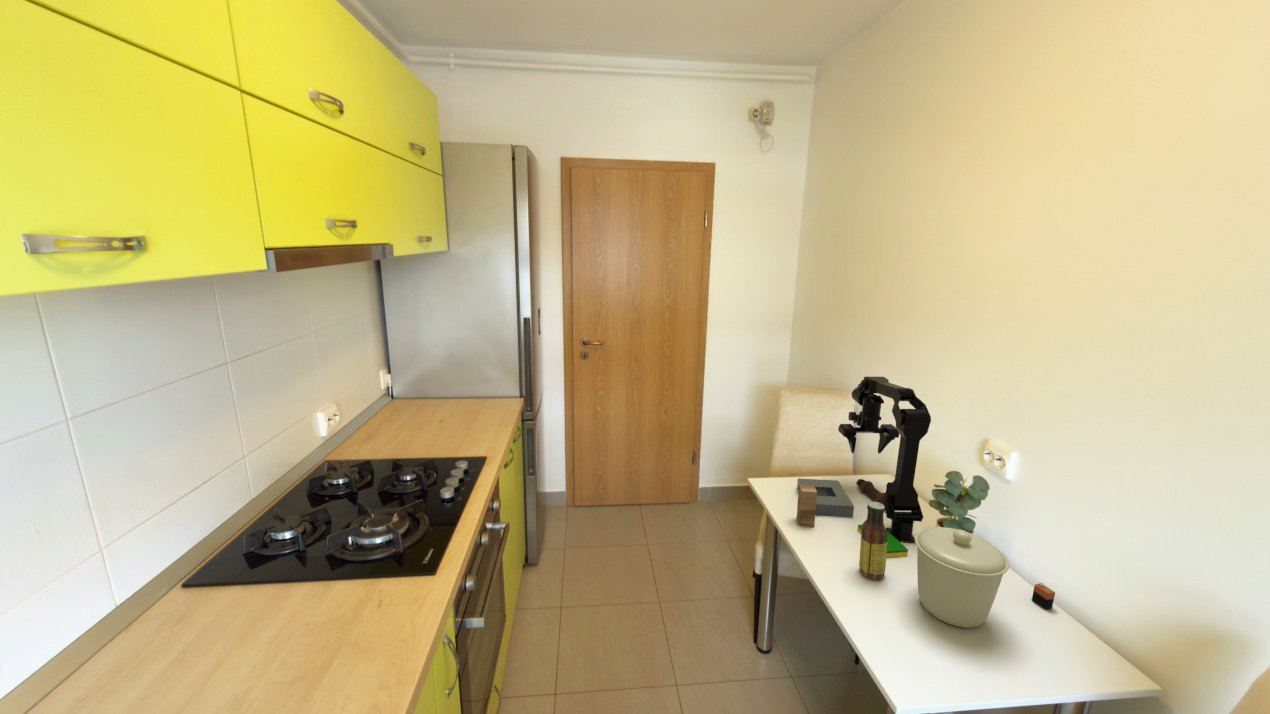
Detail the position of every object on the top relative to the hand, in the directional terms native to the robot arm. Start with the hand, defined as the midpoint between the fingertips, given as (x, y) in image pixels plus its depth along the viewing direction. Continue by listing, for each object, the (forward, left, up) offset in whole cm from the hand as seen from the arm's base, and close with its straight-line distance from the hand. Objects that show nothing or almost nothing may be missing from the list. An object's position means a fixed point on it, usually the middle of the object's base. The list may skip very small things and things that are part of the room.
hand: (865, 453), depth 166 cm
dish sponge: (-31, +4, -16) cm, 35 cm away
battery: (-53, -25, -15) cm, 61 cm away
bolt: (-3, -2, -15) cm, 16 cm away
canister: (-58, -2, -15) cm, 60 cm away
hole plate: (-9, +15, -15) cm, 23 cm away
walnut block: (-23, +24, -15) cm, 37 cm away
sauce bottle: (-46, +12, -15) cm, 50 cm away
